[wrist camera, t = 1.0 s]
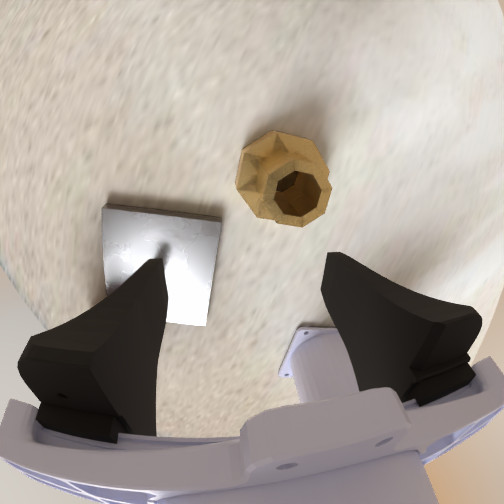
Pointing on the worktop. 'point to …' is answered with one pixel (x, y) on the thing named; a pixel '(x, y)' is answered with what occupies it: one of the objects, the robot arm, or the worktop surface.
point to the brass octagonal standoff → (277, 167)
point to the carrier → (163, 254)
